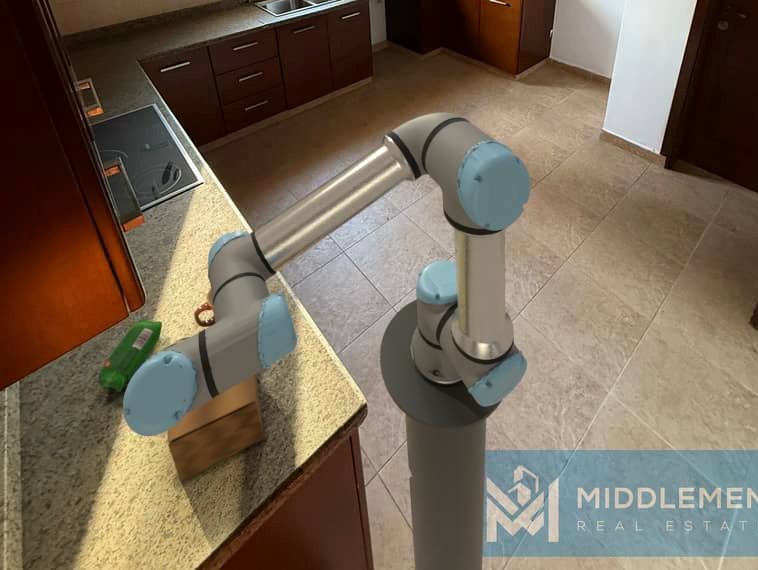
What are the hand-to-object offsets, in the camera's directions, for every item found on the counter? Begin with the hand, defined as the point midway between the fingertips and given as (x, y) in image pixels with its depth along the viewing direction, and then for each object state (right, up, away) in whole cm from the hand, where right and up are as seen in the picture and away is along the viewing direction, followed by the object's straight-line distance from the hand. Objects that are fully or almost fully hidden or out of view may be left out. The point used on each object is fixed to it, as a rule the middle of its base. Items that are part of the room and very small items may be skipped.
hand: (202, 349), depth 80 cm
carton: (+1, -20, +7) cm, 21 cm away
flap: (+2, -10, 0) cm, 10 cm away
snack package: (-25, -17, +20) cm, 36 cm away
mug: (-6, -14, +27) cm, 31 cm away
